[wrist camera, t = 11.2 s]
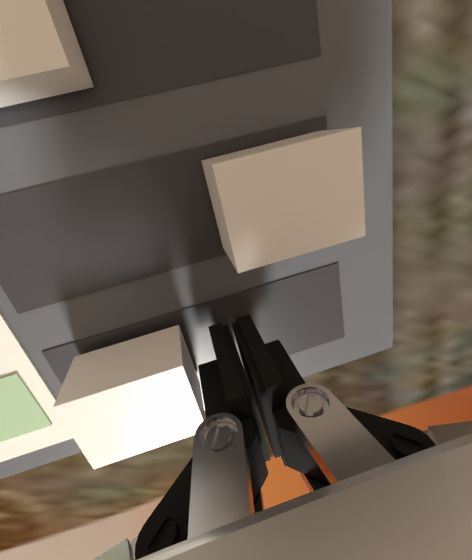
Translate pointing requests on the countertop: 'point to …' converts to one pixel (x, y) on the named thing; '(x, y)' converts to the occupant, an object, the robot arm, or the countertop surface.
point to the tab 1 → (38, 52)
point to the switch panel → (183, 194)
